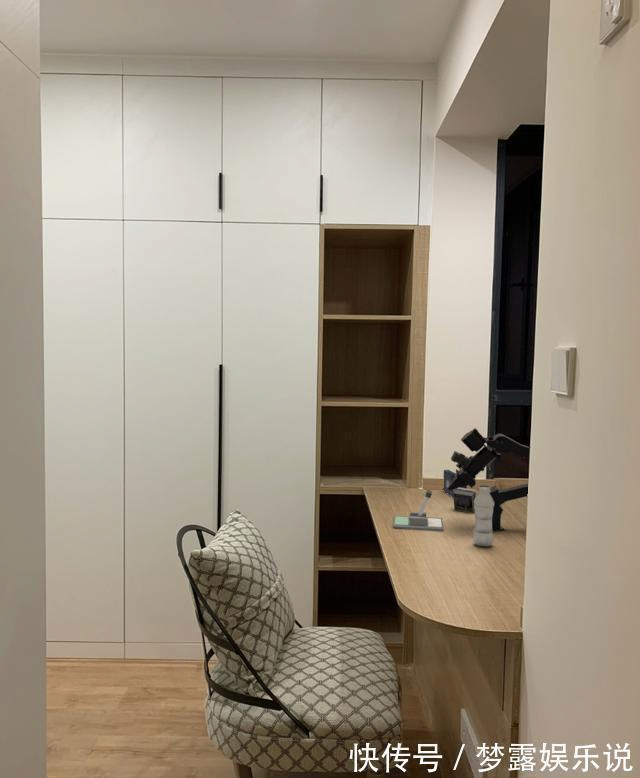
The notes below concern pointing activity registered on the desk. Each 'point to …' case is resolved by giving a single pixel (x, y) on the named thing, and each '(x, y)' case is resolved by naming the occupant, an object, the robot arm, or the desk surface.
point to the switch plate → (418, 522)
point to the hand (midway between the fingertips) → (448, 489)
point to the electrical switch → (464, 499)
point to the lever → (424, 502)
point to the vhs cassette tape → (449, 481)
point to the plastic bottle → (483, 517)
